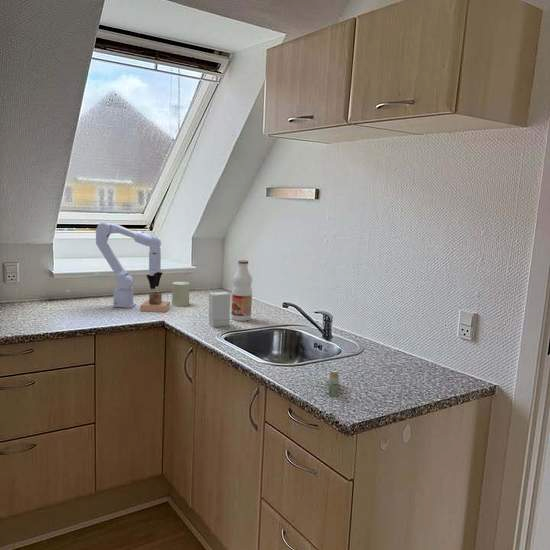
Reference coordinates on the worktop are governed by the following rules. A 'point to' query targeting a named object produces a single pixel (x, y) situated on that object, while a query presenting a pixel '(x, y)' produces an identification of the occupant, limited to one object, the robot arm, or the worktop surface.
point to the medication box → (333, 384)
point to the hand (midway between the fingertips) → (154, 287)
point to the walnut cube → (155, 298)
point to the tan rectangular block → (155, 306)
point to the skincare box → (219, 309)
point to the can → (180, 293)
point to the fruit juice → (241, 293)
